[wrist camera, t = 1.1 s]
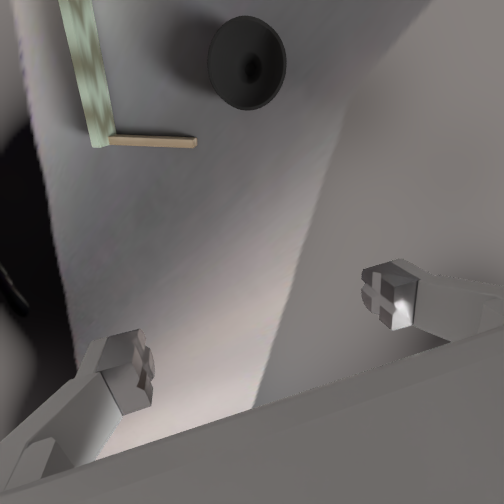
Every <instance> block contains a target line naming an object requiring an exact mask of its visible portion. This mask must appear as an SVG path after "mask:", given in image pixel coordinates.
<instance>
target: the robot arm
mask: <svg viewBox="0 0 504 504" xmlns="http://www.w3.org/2000/svg"><path fill="white" fill-rule="evenodd" d="M362 280H363V281H364V282H365V284H364V286H363V288H362V289H361V291H362V292H361V293H362V299H363V302H364V305H365V306H366V308H367V309H368V310H369V311H370V312H371V313H374V314H378V315H379V320H380V321H381V322H382V323H384V324H385V325H386V326H387V327H388V328H389V329H390V330H391V331H393V330H397V329H400V328H404V327H407V326H411V325H414V326H415V327H417V328H419V329H422V330H425V331H427V332H429V333H432V334H434V335H436V336H439V337H442V338H444V339H446V340H449V341H451V343H448V344H445V345H442V346H440V347H436V348H433V349H430V350H428V351H424V352H421V353H418V354H415V355H412V356H409V357H406V358H403V359H400V360H397V361H394V362H391V363H388V364H385V365H382V366H379V367H376V368H373V369H370V370H367V371H364V372H361V373H358V374H355V375H352V376H349V377H346V378H343V379H340V380H337V381H334V382H331V383H328V384H325V385H322V386H319V387H316V388H313V389H310V390H307V391H304V392H301V393H298V394H295V395H292V396H289V397H286V398H283V399H280V400H277V401H274V402H271V403H268V404H265V405H262V406H259V407H256V408H253V409H250V410H247V411H244V412H241V413H238V414H235V415H232V416H229V417H226V418H223V419H220V420H217V421H214V422H211V423H208V424H205V425H202V426H198V427H195V428H192V429H189V430H186V431H183V432H180V433H177V434H174V435H171V436H168V437H165V438H162V439H159V440H156V441H153V442H150V443H147V444H144V445H141V446H138V447H135V448H132V449H129V450H126V451H123V452H120V453H117V454H114V455H111V456H108V457H105V458H102V459H99V460H96V461H95V459H96V458H97V456H98V455H99V453H100V452H101V450H102V449H103V447H104V445H105V444H106V442H107V441H108V439H109V438H110V436H111V435H112V433H113V432H114V430H115V429H116V427H117V426H118V424H119V423H120V421H121V420H122V418H123V415H126V414H129V413H132V412H135V411H138V410H141V409H144V408H147V407H150V406H151V404H152V395H153V386H152V384H151V381H152V379H153V378H154V375H155V365H154V359H153V355H152V352H151V349H150V348H148V347H147V346H145V343H146V337H145V334H144V332H143V330H141V329H137V330H133V331H129V332H125V333H120V334H116V335H112V336H109V337H104V338H101V339H97V340H94V341H92V342H91V343H90V345H89V347H88V349H87V352H86V354H85V356H84V358H83V361H82V363H81V365H80V368H79V370H78V372H77V375H76V377H75V379H72V380H69V381H68V382H67V383H66V384H65V385H64V386H62V387H61V388H60V389H59V390H58V391H57V392H56V393H55V394H53V395H52V396H51V397H50V398H49V399H48V400H47V401H46V402H44V403H43V404H42V405H41V406H40V407H39V408H38V409H37V410H36V411H34V412H33V413H32V414H31V415H30V416H29V417H28V418H27V419H26V420H25V421H23V422H22V423H21V424H20V425H19V426H18V427H17V428H16V429H14V430H13V431H12V432H11V433H10V434H9V435H8V436H7V437H5V438H4V439H3V440H2V441H1V442H0V504H504V286H500V285H494V284H488V283H483V282H476V281H471V280H465V279H459V278H454V277H448V276H442V275H437V276H434V275H432V274H430V273H429V272H427V271H425V270H423V269H421V268H419V267H417V266H416V265H414V264H412V263H410V262H408V261H406V260H404V259H396V260H392V261H389V262H387V263H383V264H380V265H376V266H373V267H369V268H366V269H363V271H362Z"/></svg>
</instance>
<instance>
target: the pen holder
mask: <svg viewBox="0 0 504 504" xmlns="http://www.w3.org/2000/svg"><path fill="white" fill-rule="evenodd" d="M208 73H209V77H210V80H211V83H212V85H213V87H214V89H215V91H216V92H217V94H218V95H219V96H220V97H221V98H222V99H223V100H224V101H225V102H227V103H228V104H229V105H231V106H233V107H235V108H237V109H240V110H255V109H258V108H261V107H263V106H265V105H266V104H268V103H269V102H270V101H271V100H272V99H273V98H274V97H275V96H276V95H277V93H278V92H279V90H280V88H281V86H282V84H283V81H284V78H285V74H286V53H285V48H284V46H283V43H282V41H281V39H280V37H279V35H278V34H277V33H276V32H275V30H274V29H273V28H272V27H270V26H269V25H268V24H267V23H265V22H264V21H262V20H260V19H258V18H255V17H251V16H239V17H236V18H233V19H231V20H229V21H228V22H226V23H225V24H224V25H223V26H222V27H221V28H220V29H219V30H218V31H217V33H216V34H215V36H214V38H213V40H212V42H211V45H210V48H209V52H208Z"/></svg>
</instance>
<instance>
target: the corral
mask: <svg viewBox="0 0 504 504" xmlns="http://www.w3.org/2000/svg"><path fill="white" fill-rule="evenodd" d="M58 2H59V6H60V11H61V15H62V19H63V24H64V28H65V32H66V37H67V41H68V45H69V49H70V54H71V58H72V62H73V67H74V71H75V75H76V80H77V84H78V88H79V92H80V97H81V101H82V105H83V110H84V114H85V118H86V122H87V127H88V131H89V135H90V140H91V144H92V147H95V148H101V147H104V146H107V145H130V146H155V147H180V148H194V147H196V146H197V138H195V137H170V136H144V135H119V134H116V129H115V123H114V118H113V113H112V107H111V102H110V97H109V92H108V86H107V81H106V76H105V70H104V65H103V60H102V54H101V49H100V44H99V39H98V33H97V28H96V23H95V17H94V12H93V7H92V1H91V0H58Z"/></svg>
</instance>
